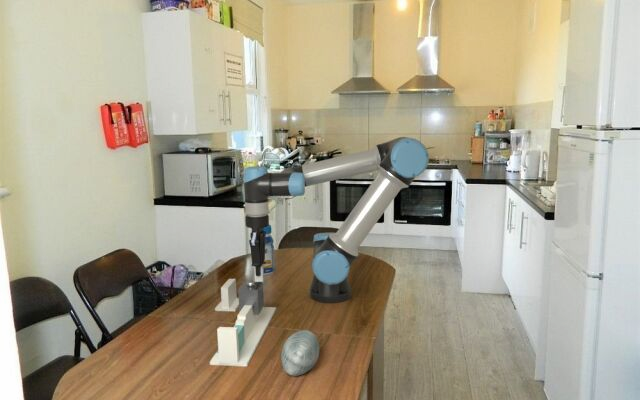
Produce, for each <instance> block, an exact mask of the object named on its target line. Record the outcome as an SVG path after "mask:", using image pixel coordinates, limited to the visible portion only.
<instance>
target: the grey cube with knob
mask: <svg viewBox="0 0 640 400" xmlns="http://www.w3.org/2000/svg"><path fill="white" fill-rule="evenodd" d="M237 291H238V292H237V293H238V294H237V295H238V298H239V307H238V312H240V311H241V310H242V308H243V307H244V305H253V306H254V315H259V314H260V312H261V310H262V309H263V307H265V298H264V295H265V293H264V284H263V282H255V280H251V279H250V280H247V281H246V280H245V281H244V282H243V283H242V284H241V285H240V287H239V288H238V289H237Z"/></svg>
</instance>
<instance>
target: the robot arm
mask: <svg viewBox="0 0 640 400" xmlns="http://www.w3.org/2000/svg"><path fill="white" fill-rule="evenodd" d="M429 161H430V156H429V151H428V149H427V147H426V146H425V144H423V143H422V142H421V141H420V140H418V139H416V138H413V137H406V136H401V137H397V138H394V139H391V140H388V141H385V142H383V143H379V144H375V145H374V146H373V147H372V148H371V149H367V150H363V151H358V152H353V153H350V154H345V155H340V156H337V157H336V156H335V157H332V158H328V159H323V160H318V161H316V162H311V163H306V164H302V165H298V166H293V167H292V166H291V167H287V168H284V169H283V170H281V172H269V171H268V168H267V167H266V166H262V165H261V166H259V165H257V166H254V165H253V166H247V167H246V168H244V170H243V174H244V175H243V188H244V191H243V193H244V204H243V205H242V206H243V207H244V212H245V214H246V215H245V217H244V218H245V227H246V228H247V229H251V232H250V234H249V235H250V237H249V238H250V239H249V240H248V242H249V247H250V256H251V258H250V259H251V267H253V269H254V281H255V282H263V285H264V284H265V275H264V268H263V265H262V264H266V262H264V260H265V237H266V231H264V228H265V227H267V226H268V225H270V218H269V217H270V216H269V212H270V209H269V197H293V198H294V197H301V196H304V195H305V193H306V187H310V186H313V185H318V184H319V185H320V184H323V183H328V182H331V181H335V180H336V181H337V180H341V179H344V178H348V177H349V178H350V177H353V176H359V175H363V174H367V173H368V174H369V173H372V172H377V171H378V174H377V175H376V176H375V178H374V179H373V181H372V182H371V184H370V185H369V186H368V188H367V189H366V191H365V192H364V193H363V195H362V196H361V198H360V199H359V201H358V202H357V203H356V205H355V206H354V207H353V209H352V210H351V212H350V213H349V214H348V215H347V217H346V218H345V220H344V222H343V223H342V224H341V226H340V227H339V228H338V230H337V231H336V232H320V233H319V232H318V233H315V234H314V235H313V239H312V240H313V241H312V243H313V256H312V263H311V268H312V273H313V278H312V280H311V284H310V287H309V298H310V299H312V300H313V301H316V302H319V303H326V304H330V303H332V304H333V303H341V302H344V301H347V300H349V299H350V298H351V297H352V287H351V285H350V282H349V279H348V275H349V273H350V270H351V269H350V268H351V266H352V265H353V264H354V262H355V261H356V259H357V258H358V256H359V247H360V246H361V245H362V243H363V242H364V241H365V239H366V237H367V236H368V235H369V233H370V232H371V230H373V228H374V226H375V225H376V224H377V223H378V221H379V219H381V217H382V216H383V214H384V213H385V211H386V210H387V209H388V208H389V206H390V204H392V202H393V200H394V199H395V198H396V197H397V195H398V193H400V191H401V190H402V189H405V188H409V186H411V184H412V182H413V181H414V180H415V179H416V178H417V177H419V176H420V175H422V174H423V173H424V172H425V171H426V170H427V167H428V165H429Z"/></svg>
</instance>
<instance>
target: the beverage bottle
mask: <svg viewBox="0 0 640 400" xmlns="http://www.w3.org/2000/svg"><path fill="white" fill-rule="evenodd" d="M264 231H266V237H265V260H264V262H266V264H262V265H263V268H264V276H266V275H271V274H274V272H275V246H274V242H275V241H274V238H273V237H272V235H271V234H272V226H271V224H269V225H268V226H267V227H265V228H264Z"/></svg>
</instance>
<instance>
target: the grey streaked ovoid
mask: <svg viewBox="0 0 640 400" xmlns="http://www.w3.org/2000/svg"><path fill="white" fill-rule="evenodd" d="M319 355H320V343H319V339H318V337H317V335H316V334H315V333H314V332H312V331H310V330H305V329H303V330H298V331H296V332H295V333H293V334H291V335H290V336H289V337H288V338H286V340H285V341H284V342H283V345H282V349H281V354H280V359H281V364H282V367H283V370H284V372H285V373H286V374H288V375H290V376H293V377H297V376H302V375H304V374H305V373H307V372H309V371H311V369H313V367H315V365H316V364H317V362H318V359H319Z"/></svg>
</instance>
